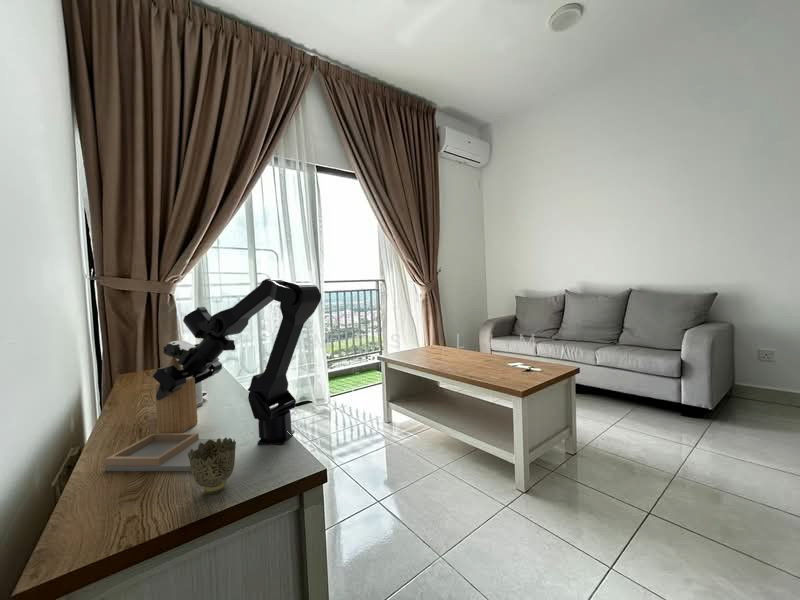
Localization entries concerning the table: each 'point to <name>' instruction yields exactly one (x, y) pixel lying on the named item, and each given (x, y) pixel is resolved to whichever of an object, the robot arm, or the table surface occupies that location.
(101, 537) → the table surface
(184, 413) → the decorative item
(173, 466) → the display stand
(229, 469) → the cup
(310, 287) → the robot arm
